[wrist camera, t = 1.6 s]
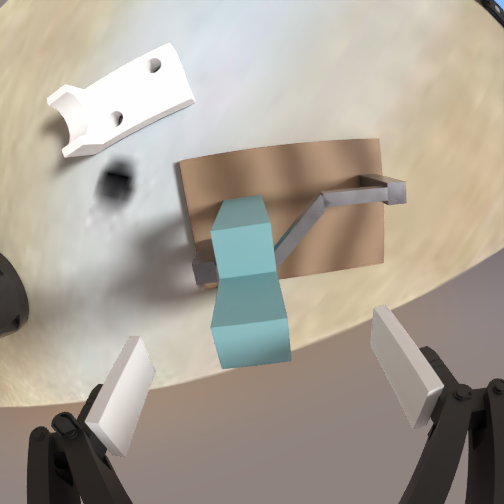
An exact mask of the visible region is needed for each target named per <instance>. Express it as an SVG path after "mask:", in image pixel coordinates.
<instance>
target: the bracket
mask: <svg viewBox="0 0 504 504" xmlns="http://www.w3.org/2000/svg"><path fill="white" fill-rule="evenodd" d="M160 66H161V67H160ZM158 67H160V69H159V70H158V71H157V72H155V70H156V69H157V68H158ZM154 72H155V73H154ZM47 102H48V105H49V106H51V107H53V108H55V109H56V110H58V111H59V112H60V113H61V115H62V116H63V117H64V119H65V121H66V123H67V125H68V128H69V133H70V141H69V144H68V145H67V146H66V147H64V148H63V149H62V152H63V155H64V158H66V157H74V156H83V155H93V154H97V153H99V152H100V151H102V150H103V149H105V148H107V147H109V146H110V145H112V144H114V143H115V142H117V141H119V140H121V139H123V138H124V137H126V136H128V135H130V134H132V133H134V132H135V131H137V130H139V129H141V128H143V127H145V126H147V125H149V124H151V123H153V122H155V121H157V120H159V119H161V118H163V117H165V116H167V115H169V114H172V113H174V112H176V111H178V110H180V109H183V108H185V107H187V106H189V105H192V104H194V103H196V101H195V99H194V96H193V94H192V91H191V89H190V86H189V84H188V81H187V79H186V75H185V72H184V70H183V67H182V65H181V62H180V60H179V57H178V55H177V53H176V51H175V50H174V48H173V47H172V46H171V44H170V43H167V44H165V45H163V46H161V47H159V48H157V49H155V50H153V51H150V52H148V53H146V54H144V55H143V56H141V57H139V58H137V59H135V60H133V61H131V62H129V63H127V64H126V65H124V66H122V67H120V68H119V69H117V70H115V71H113V72H112V73H110V74H108V75H107V76H105V77H104V78H102V79H100V80H99V81H97V82H96V83H94V84H93V85H91V86H89V87H88V88H86V89H85V90H84V89H80V88H77V87H73V86H69V85H66V84H65V85H64V86H62V87H61V88H60V89H58V90H57V91H56V92H54V93H53V94H52V95H51V96H49V97H48V98H47ZM121 115H123V121H122V123H121V124H120V125H119V124H118V120H119V117H120V116H121Z"/></svg>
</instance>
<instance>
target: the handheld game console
mask: <svg viewBox="0 0 504 504" xmlns="http://www.w3.org/2000/svg"><path fill="white" fill-rule="evenodd" d="M482 4H483V5H484V6H486V7H487V9H488V10H489V11H490V12H491V13H492V14H493V15H494V16H495V17H496V18H497V19H498V20H499V21H500V22H501V23H502V24H503V25H504V0H482Z"/></svg>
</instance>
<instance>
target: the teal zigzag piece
mask: <svg viewBox="0 0 504 504" xmlns="http://www.w3.org/2000/svg"><path fill="white" fill-rule="evenodd" d="M210 232H211V237H212V243H213V248H214V253H215V258H216V263H217V268H218V273H219V278H220V280H219V285H218V291H217V296H216V301H215V307H214V312H213V318H212V323H211V331H212V335H213V338H214V342H215V346H216V350H217V353H218V357H219V360H220V364H221V367H222V369H228V368H239V367H248V366H257V365H265V364H272V363H280V362H287V361H291V350H290V339H289V328H288V318H287V314H286V309H285V305H284V301H283V297H282V292H281V288H280V284H279V280H278V275H277V271H276V263H275V255H274V246H273V238H272V231H271V223H270V220H269V217H268V213H267V210H266V207H265V204H264V201H263V198H262V195H257V196H250V197H243V198H236V199H229V200H224V201H223V203H222V206H221V208H220V210H219V212H218V215H217V217H216V219H215V222H214V224H213V226H212V229H211V231H210Z"/></svg>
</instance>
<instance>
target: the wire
mask: <svg viewBox="0 0 504 504" xmlns="http://www.w3.org/2000/svg"><path fill="white" fill-rule="evenodd" d="M359 185H360V188H349V189H339V190H329V191H320V194H319V193H317V194H316V195H315V196H314V197H313V199H312V200H311V201H310V202H309V204H308V205H307V206H306V207H305V209H304V210H303V211H302V212H301V214H300V215H299V216H298V217H297V219H296V220H295V221H294V222H293V224H292V225H291V226H290V227H289V228H288V230H287V231H286V232H285V233H284V235H283V236H282V237H281V238H280V240H279V241H278V242H277V243H276V245H275V246H274V255H275V263H276V269H278V268H279V266H280V265H281V264H282V263H283V262H284V261H285V259H286V258H287V257H288V256H289V255H290V253H291V252H292V251H293V250H294V248H295V247H296V246H297V245H298V244H299V242H300V241H301V240H302V239H303V238H304V236H305V235H306V234H307V233H308V231H309V230H310V229H311V228H312V227H313V225H314V224H315V223H316V222H317V220H318V219H319V218H320V217H321V216H322V214H323V213H324V212H325V211H326V209H327V208H328V207H334V206H342V205H351V204H361V203H370V202H383V203H385V204H387V205H394V204H404V203H406V182H405V181H401V180H397V179H394V178H390V177H386V176H382V175H377V174H365V175H359ZM192 266H193V271H194V275H195V279H196V283H197V285H199V284H207V283H215V282H219V273H218V268H217V263H216V258H215V253H214V248H213V243H212V239H207V240H203V241H202V244H201V246H200V248H199V250H198V252H197V255H196V257H195V259H194V261H193V264H192Z"/></svg>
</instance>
